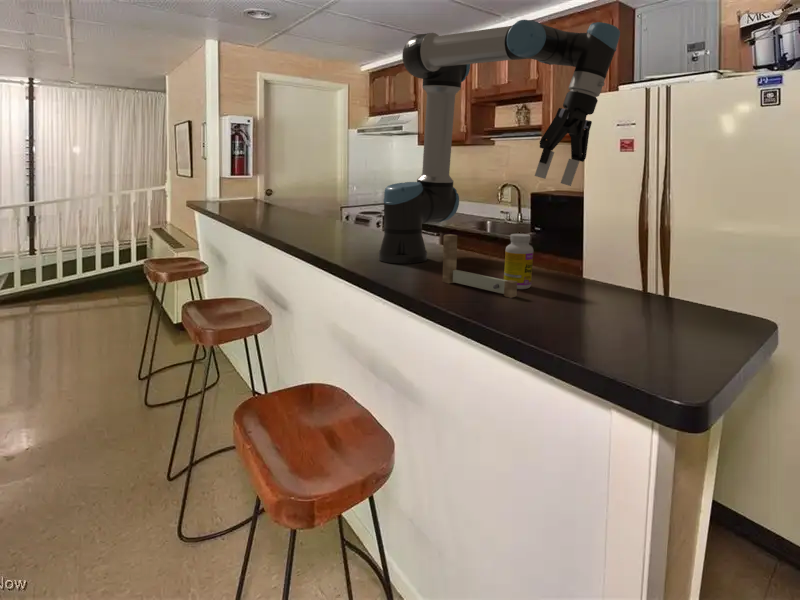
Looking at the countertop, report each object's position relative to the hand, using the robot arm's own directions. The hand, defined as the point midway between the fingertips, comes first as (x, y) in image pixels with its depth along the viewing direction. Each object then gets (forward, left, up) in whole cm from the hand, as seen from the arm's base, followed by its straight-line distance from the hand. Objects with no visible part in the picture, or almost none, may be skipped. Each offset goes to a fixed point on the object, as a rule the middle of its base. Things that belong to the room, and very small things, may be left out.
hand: (553, 181), depth 135 cm
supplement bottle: (+1, -14, -25) cm, 29 cm away
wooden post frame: (-4, -23, -25) cm, 34 cm away
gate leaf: (-3, -23, -25) cm, 34 cm away
